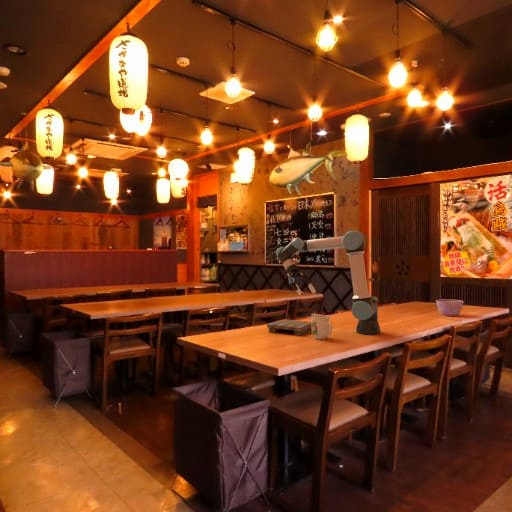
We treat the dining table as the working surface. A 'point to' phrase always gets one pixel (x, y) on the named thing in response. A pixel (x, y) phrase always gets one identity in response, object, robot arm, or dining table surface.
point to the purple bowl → (449, 306)
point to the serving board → (290, 326)
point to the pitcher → (321, 326)
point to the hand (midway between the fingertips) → (307, 293)
